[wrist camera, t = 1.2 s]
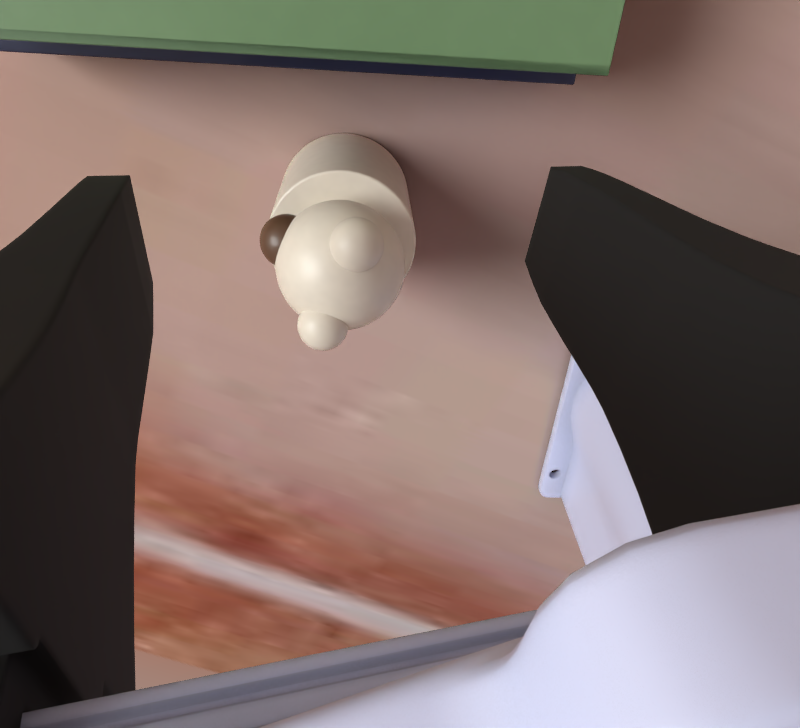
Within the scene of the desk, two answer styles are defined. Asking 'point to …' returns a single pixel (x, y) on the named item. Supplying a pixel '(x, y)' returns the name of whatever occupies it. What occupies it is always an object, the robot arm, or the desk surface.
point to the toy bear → (340, 236)
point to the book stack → (332, 34)
